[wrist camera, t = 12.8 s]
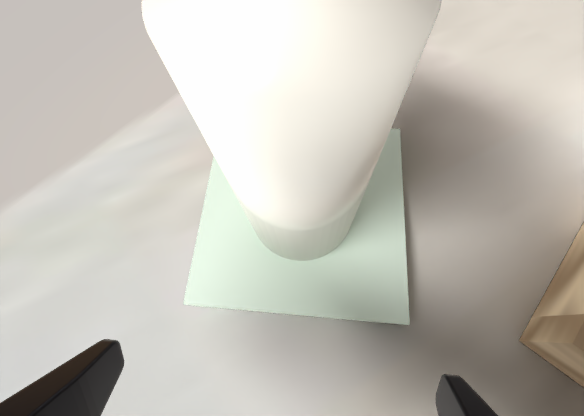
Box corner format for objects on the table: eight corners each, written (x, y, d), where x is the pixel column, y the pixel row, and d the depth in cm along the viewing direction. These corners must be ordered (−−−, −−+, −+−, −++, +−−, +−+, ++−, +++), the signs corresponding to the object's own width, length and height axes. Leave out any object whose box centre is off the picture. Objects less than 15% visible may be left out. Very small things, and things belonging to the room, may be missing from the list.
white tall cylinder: (351, 264, 17) (458, 104, 5) (244, 256, 17) (102, 92, 5) (353, 139, 20) (424, -153, 8) (262, 135, 20) (196, -147, 8)
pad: (405, 324, 16) (409, 324, 16) (188, 305, 17) (183, 304, 17) (396, 136, 21) (400, 128, 20) (223, 128, 22) (220, 121, 21)
